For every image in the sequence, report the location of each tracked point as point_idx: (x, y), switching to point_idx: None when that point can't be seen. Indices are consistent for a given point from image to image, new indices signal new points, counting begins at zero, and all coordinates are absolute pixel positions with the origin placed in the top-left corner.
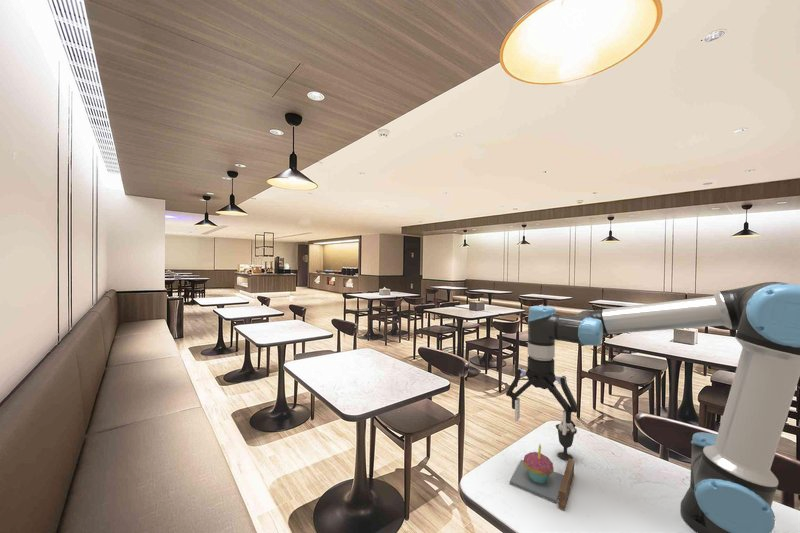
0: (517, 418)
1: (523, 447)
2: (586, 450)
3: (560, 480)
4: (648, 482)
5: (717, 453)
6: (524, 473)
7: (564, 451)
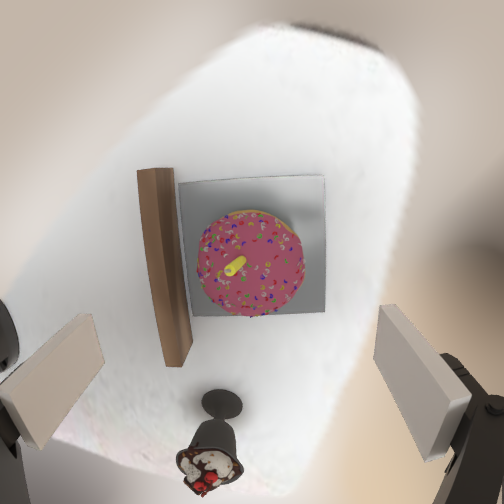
0: (385, 319)
1: (334, 380)
2: None
3: (193, 284)
4: None
5: None
6: None
7: (220, 412)
